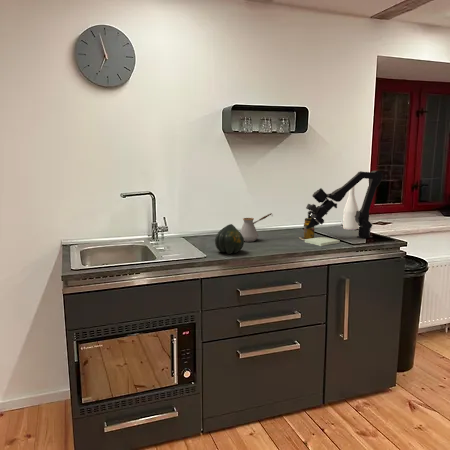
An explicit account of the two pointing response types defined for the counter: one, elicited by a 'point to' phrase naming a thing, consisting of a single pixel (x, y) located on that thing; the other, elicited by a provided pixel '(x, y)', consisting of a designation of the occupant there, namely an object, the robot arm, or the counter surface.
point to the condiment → (307, 230)
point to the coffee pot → (250, 229)
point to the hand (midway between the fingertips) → (305, 227)
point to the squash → (229, 240)
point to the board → (322, 241)
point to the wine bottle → (350, 212)
